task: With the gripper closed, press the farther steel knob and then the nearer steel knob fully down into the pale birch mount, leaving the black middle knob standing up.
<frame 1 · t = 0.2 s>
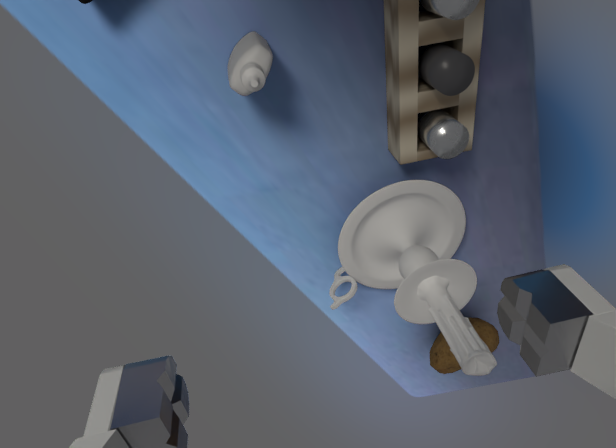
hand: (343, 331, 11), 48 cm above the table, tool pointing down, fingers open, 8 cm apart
eye dropper bottle: (246, 54, 52), on the table
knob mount: (423, 56, 56), on the table
potato: (451, 328, 87), on the table
candlestick: (384, 233, 71), on the table
steel knob 1: (442, 133, 55), point 6 cm above the table, slide at 0.0 cm
black knob middle: (445, 69, 50), point 7 cm above the table, slide at 0.0 cm
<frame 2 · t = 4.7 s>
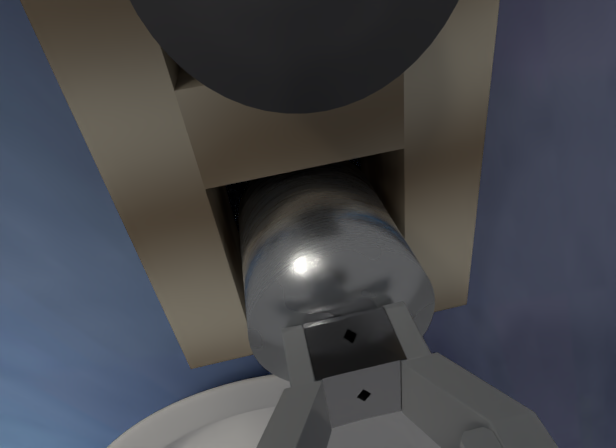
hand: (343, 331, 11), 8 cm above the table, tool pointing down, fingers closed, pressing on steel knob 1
steel knob 1: (322, 260, 13), point 6 cm above the table, slide at 0.9 cm, touching gripper
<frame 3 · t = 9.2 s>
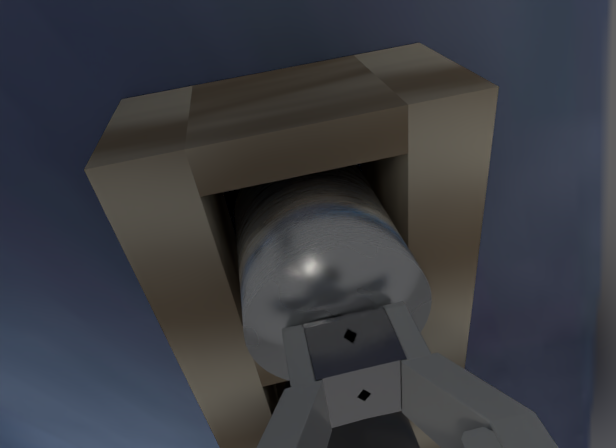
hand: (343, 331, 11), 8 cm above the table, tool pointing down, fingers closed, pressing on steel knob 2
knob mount: (317, 318, 21), on the table
steel knob 2: (319, 258, 12), point 5 cm above the table, slide at 1.4 cm, touching gripper
black knob middle: (352, 447, 16), point 7 cm above the table, slide at 0.0 cm
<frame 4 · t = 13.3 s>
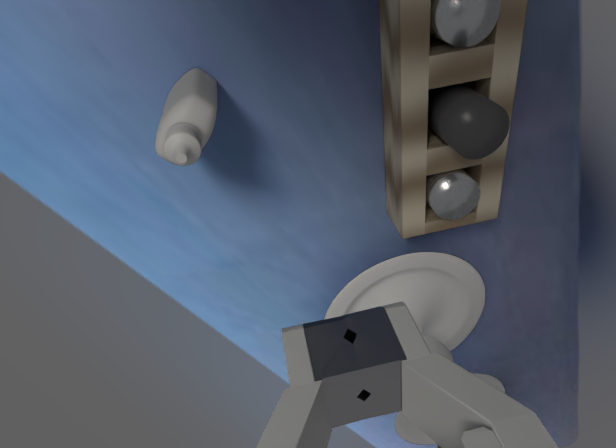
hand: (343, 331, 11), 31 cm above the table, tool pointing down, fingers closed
eye dropper bottle: (190, 98, 38), on the table
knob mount: (433, 96, 41), on the table
steel knob 2: (454, 9, 34), point 3 cm above the table, slide at 3.1 cm
candlestick: (381, 309, 56), on the table
steel knob 1: (445, 186, 43), point 3 cm above the table, slide at 3.1 cm
black knob middle: (466, 121, 36), point 7 cm above the table, slide at 0.0 cm
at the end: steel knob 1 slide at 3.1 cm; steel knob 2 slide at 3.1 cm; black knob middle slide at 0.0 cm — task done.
